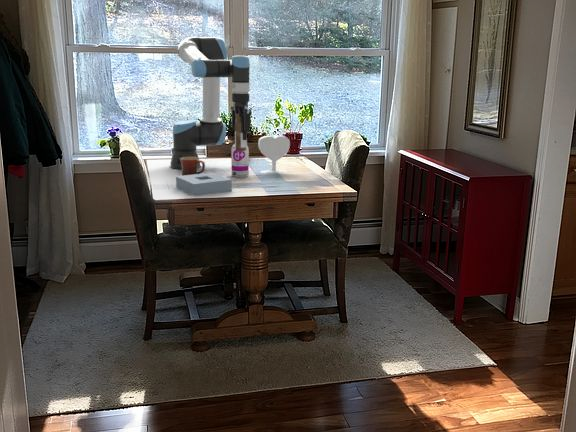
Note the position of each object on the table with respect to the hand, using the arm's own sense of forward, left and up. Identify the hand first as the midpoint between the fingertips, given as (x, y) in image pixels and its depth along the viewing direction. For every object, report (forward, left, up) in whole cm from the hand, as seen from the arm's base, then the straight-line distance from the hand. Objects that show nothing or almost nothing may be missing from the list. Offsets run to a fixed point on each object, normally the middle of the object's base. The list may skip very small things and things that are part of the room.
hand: (240, 146), depth 271 cm
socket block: (-3, -17, -18) cm, 25 cm away
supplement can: (-20, +11, -18) cm, 29 cm away
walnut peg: (0, 0, -2) cm, 2 cm away
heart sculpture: (-21, +31, -18) cm, 42 cm away
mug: (-22, -13, -18) cm, 31 cm away
